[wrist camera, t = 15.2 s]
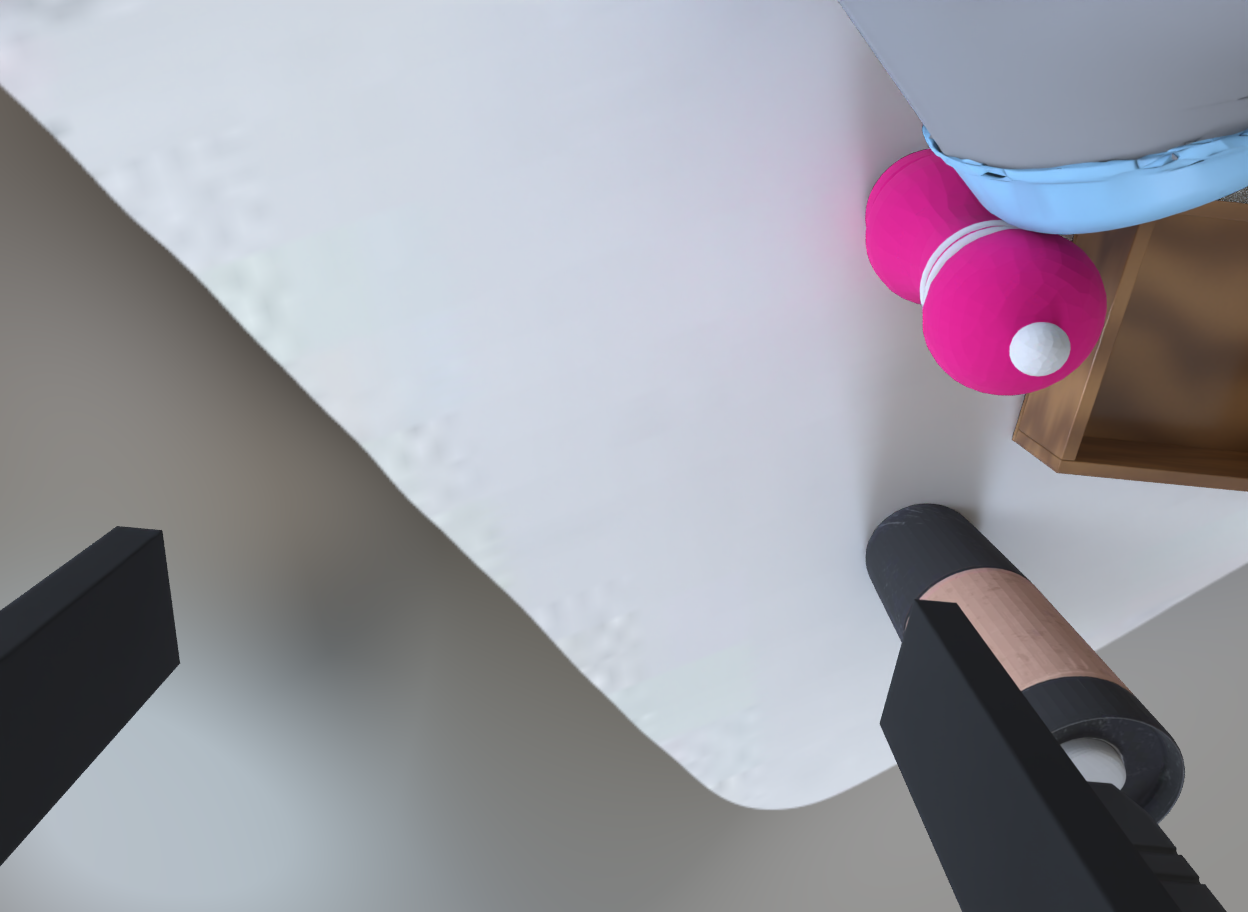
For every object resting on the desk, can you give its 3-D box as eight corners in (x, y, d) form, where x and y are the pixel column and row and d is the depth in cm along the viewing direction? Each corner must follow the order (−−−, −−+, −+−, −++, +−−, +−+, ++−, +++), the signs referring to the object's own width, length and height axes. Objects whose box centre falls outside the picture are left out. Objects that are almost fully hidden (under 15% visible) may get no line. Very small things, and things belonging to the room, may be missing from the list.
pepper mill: (866, 136, 40) (954, 243, 23) (1012, 138, 39) (1214, 251, 22) (847, 272, 44) (910, 450, 27) (979, 277, 43) (1131, 463, 26)
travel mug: (998, 568, 50) (1214, 811, 32) (891, 621, 52) (1038, 884, 33) (950, 477, 48) (1152, 682, 29) (840, 536, 49) (965, 766, 31)
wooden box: (1088, 188, 42) (1149, 192, 37) (1383, 220, 42) (1483, 229, 37) (1011, 439, 47) (1056, 473, 42) (1275, 466, 47) (1349, 502, 43)
